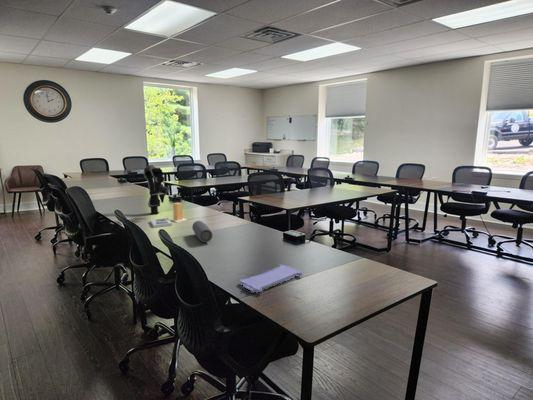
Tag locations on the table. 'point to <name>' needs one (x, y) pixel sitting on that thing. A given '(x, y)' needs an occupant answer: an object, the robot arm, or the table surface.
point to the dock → (160, 222)
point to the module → (177, 211)
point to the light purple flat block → (269, 277)
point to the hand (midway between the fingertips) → (159, 202)
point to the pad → (178, 220)
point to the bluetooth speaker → (202, 231)
